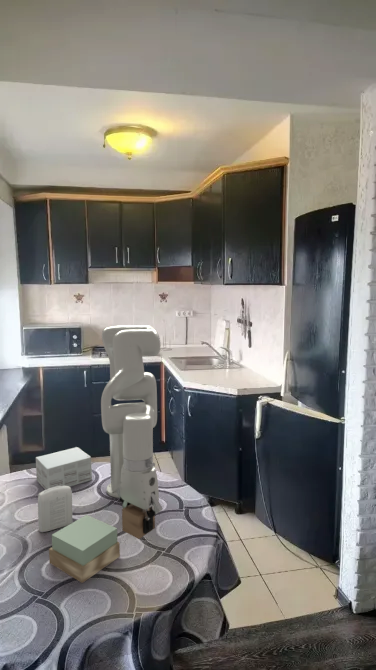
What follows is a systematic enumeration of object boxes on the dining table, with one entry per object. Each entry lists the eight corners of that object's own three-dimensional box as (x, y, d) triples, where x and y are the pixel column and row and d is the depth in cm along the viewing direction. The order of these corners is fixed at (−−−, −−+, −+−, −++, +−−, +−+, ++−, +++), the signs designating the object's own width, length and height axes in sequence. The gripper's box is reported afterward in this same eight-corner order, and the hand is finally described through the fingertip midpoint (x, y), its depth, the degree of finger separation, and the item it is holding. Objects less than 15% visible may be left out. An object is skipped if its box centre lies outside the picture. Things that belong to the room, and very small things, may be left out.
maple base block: (87, 541, 125) (87, 526, 124) (119, 558, 117) (119, 542, 117) (49, 564, 114) (49, 548, 114) (82, 584, 107) (81, 568, 106)
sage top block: (87, 527, 124) (86, 514, 123) (117, 542, 117) (117, 528, 116) (52, 548, 114) (51, 534, 113) (83, 565, 107) (82, 550, 107)
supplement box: (78, 468, 173) (77, 446, 172) (92, 480, 163) (91, 456, 162) (35, 480, 163) (34, 456, 162) (47, 493, 153) (46, 468, 151)
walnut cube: (138, 520, 117) (138, 499, 117) (154, 528, 114) (154, 507, 113) (122, 530, 113) (122, 509, 112) (139, 539, 109) (138, 517, 108)
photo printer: (70, 518, 136) (69, 480, 135) (74, 524, 133) (73, 486, 131) (36, 528, 131) (35, 489, 129) (40, 534, 127) (39, 495, 126)
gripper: (173, 465, 108) (173, 532, 111) (124, 448, 119) (125, 509, 121) (153, 477, 102) (153, 546, 105) (104, 457, 113) (105, 521, 115)
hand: (138, 526), depth 113 cm, fingers closed on walnut cube, 6 cm apart
